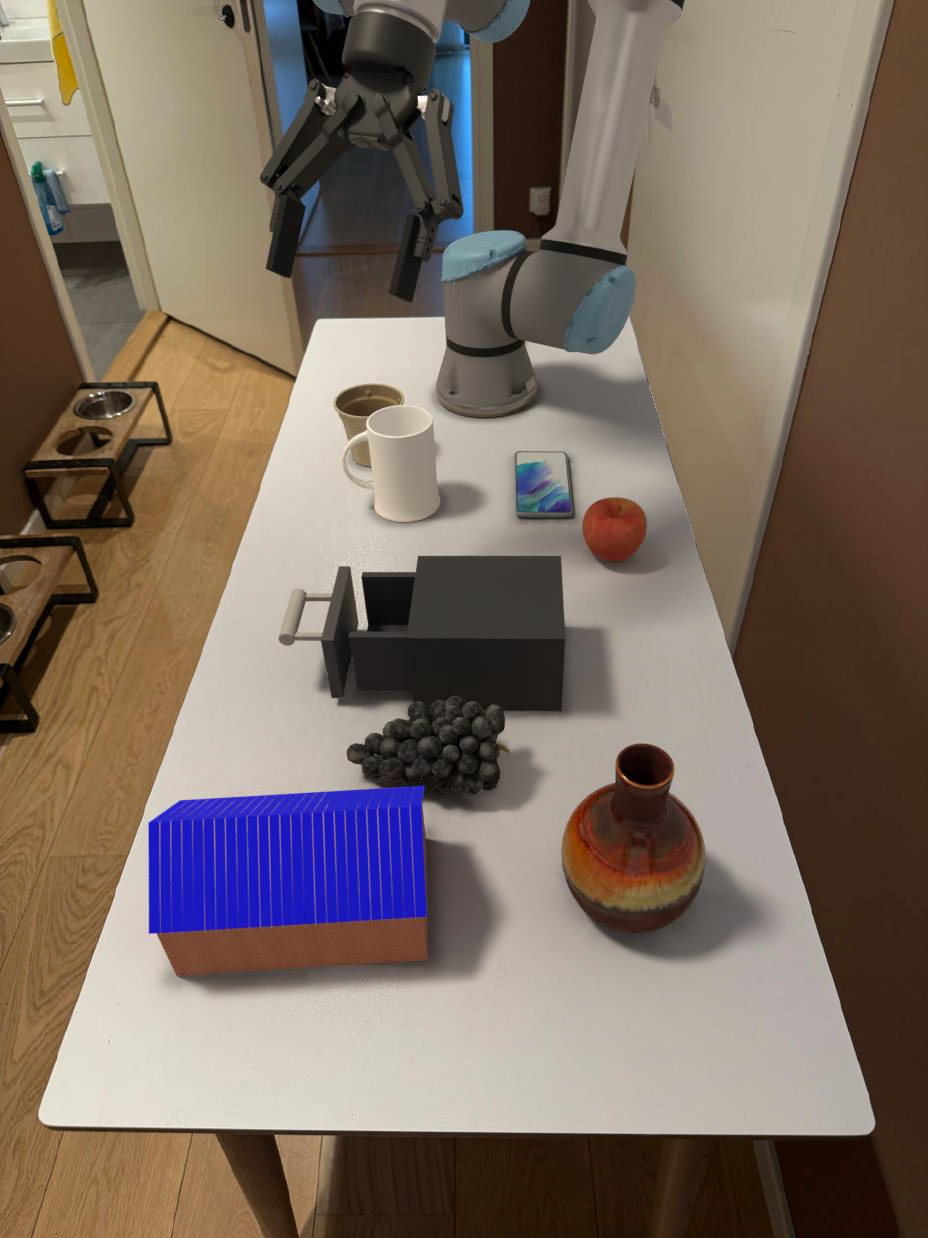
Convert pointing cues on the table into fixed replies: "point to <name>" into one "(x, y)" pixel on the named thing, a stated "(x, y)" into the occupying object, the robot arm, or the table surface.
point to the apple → (614, 528)
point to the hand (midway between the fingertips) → (337, 285)
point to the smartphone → (542, 484)
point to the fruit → (437, 747)
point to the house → (290, 880)
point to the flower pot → (363, 412)
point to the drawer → (373, 651)
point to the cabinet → (488, 631)
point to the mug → (400, 463)
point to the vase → (634, 846)
